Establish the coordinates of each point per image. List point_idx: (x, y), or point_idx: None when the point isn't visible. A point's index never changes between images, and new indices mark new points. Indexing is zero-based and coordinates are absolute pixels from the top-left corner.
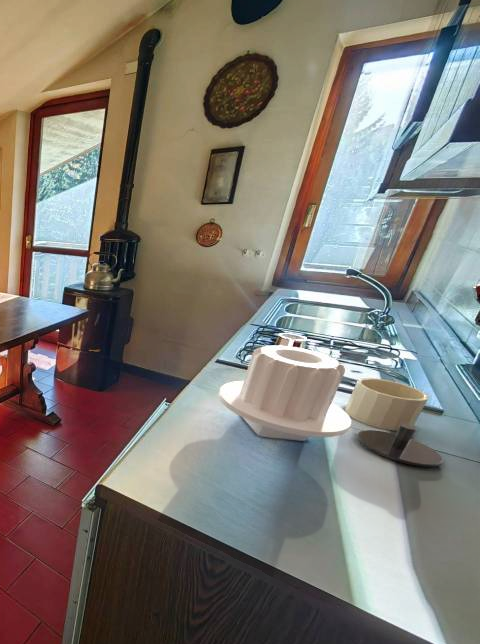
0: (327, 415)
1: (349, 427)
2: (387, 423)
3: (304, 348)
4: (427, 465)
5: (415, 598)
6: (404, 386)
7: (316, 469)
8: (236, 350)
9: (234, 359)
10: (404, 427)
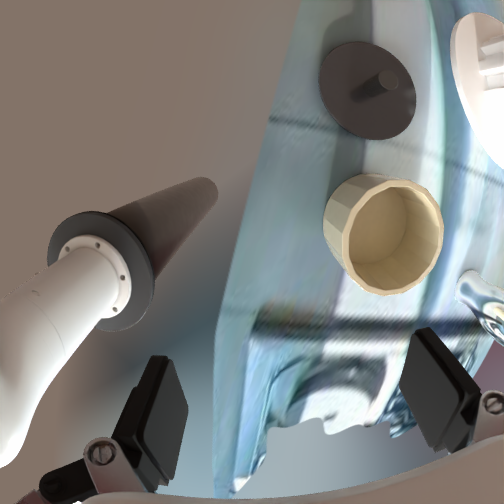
0: (477, 66)
1: (451, 45)
2: (373, 174)
3: (499, 320)
4: (341, 45)
5: None
6: (364, 281)
7: (439, 6)
8: None
9: (480, 350)
10: (393, 74)
